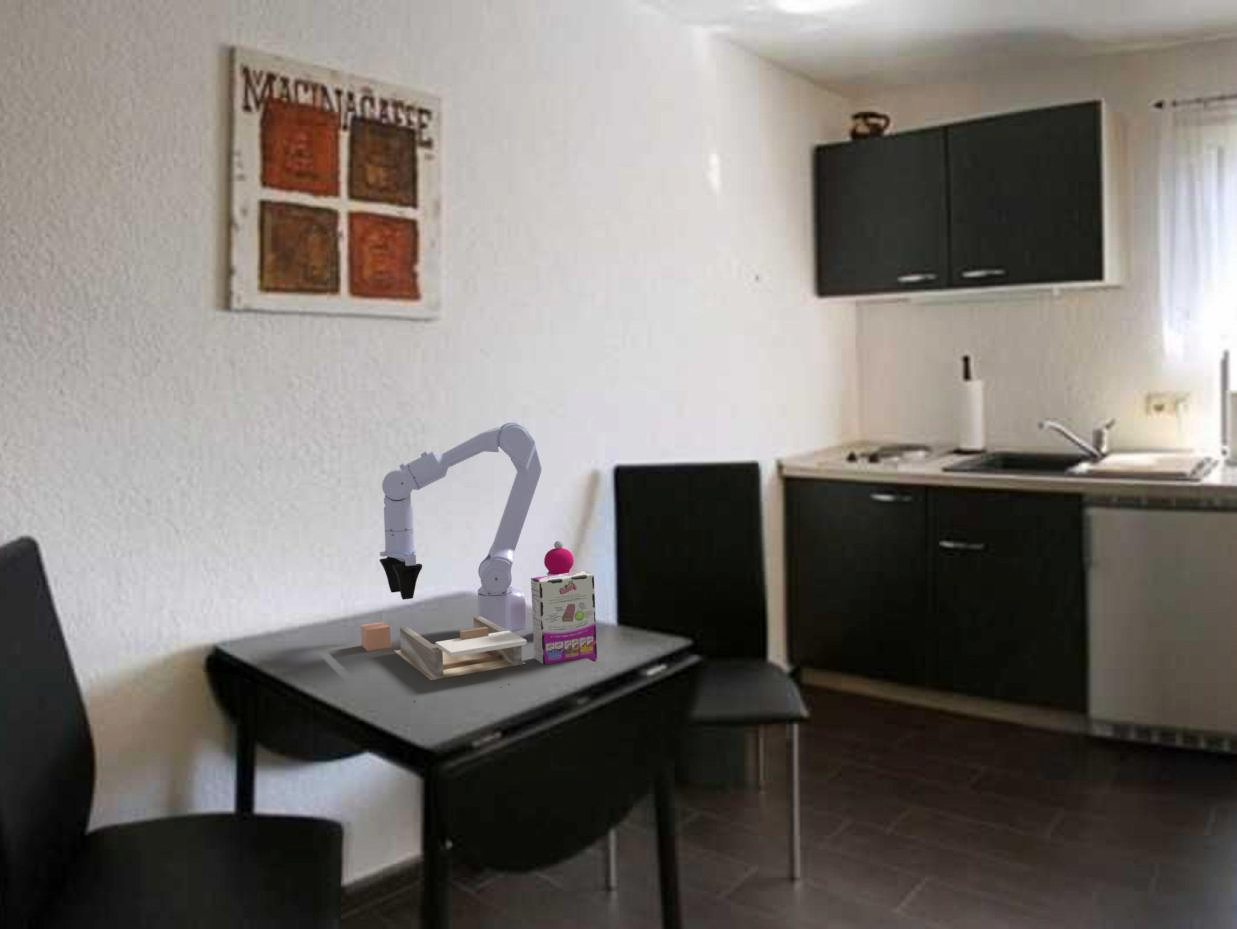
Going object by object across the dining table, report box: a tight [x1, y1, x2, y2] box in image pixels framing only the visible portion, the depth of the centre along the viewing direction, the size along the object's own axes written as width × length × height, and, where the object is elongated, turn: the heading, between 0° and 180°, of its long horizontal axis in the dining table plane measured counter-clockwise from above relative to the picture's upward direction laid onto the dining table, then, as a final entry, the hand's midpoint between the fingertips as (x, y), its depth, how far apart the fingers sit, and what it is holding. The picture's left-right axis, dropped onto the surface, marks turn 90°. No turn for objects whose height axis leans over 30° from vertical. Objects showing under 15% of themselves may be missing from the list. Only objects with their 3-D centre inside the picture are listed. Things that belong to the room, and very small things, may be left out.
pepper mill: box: [543, 540, 575, 576], centre depth 200 cm, size 7×7×20 cm
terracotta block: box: [360, 621, 392, 652], centre depth 193 cm, size 4×4×4 cm
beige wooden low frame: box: [394, 615, 526, 681], centre depth 185 cm, size 18×22×6 cm
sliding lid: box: [435, 627, 528, 657], centre depth 174 cm, size 14×8×2 cm, turn 119°
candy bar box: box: [530, 570, 598, 665], centre depth 183 cm, size 11×5×16 cm, turn 117°
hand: (401, 595), depth 201 cm, fingers open, 7 cm apart
